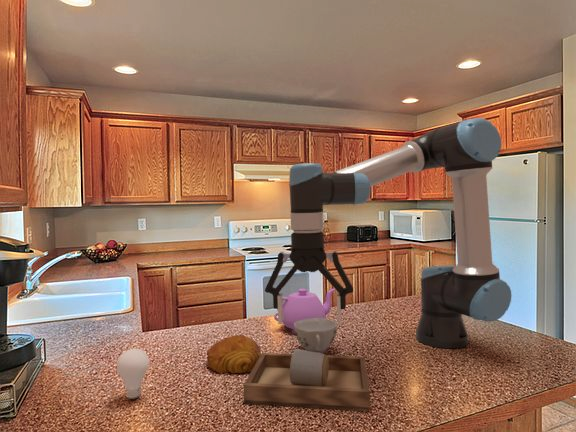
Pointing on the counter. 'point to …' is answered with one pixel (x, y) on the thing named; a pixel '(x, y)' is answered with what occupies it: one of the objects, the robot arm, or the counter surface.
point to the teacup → (315, 333)
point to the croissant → (234, 355)
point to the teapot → (304, 307)
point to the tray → (334, 395)
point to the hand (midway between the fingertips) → (309, 322)
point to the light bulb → (133, 370)
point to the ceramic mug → (309, 368)
